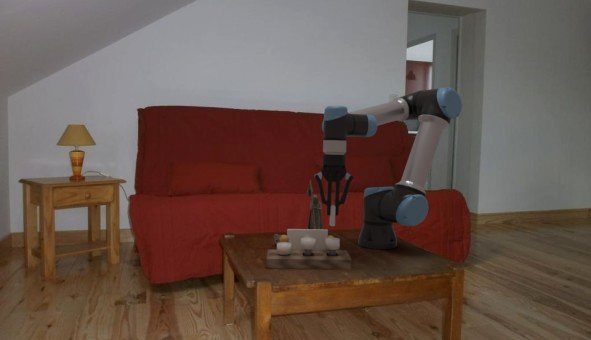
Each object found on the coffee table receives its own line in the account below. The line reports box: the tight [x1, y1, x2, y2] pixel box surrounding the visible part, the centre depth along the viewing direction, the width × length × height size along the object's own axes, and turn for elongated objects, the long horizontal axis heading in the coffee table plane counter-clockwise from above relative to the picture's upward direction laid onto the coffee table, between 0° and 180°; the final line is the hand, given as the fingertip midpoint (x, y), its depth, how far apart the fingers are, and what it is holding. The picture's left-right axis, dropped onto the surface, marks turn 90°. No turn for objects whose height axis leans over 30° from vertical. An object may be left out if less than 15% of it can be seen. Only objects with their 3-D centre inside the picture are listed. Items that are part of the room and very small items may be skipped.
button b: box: [301, 237, 316, 256], centre depth 141 cm, size 5×5×6 cm
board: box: [265, 248, 352, 270], centre depth 141 cm, size 27×12×3 cm, turn 91°
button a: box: [325, 237, 341, 256], centre depth 141 cm, size 5×5×6 cm
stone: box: [273, 234, 283, 245], centre depth 164 cm, size 9×11×5 cm
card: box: [280, 228, 335, 250], centre depth 147 cm, size 19×1×10 cm, turn 91°
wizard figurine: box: [306, 178, 324, 229], centre depth 178 cm, size 10×8×25 cm
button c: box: [276, 242, 291, 256], centre depth 141 cm, size 5×5×6 cm
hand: (332, 225), depth 141 cm, fingers closed
